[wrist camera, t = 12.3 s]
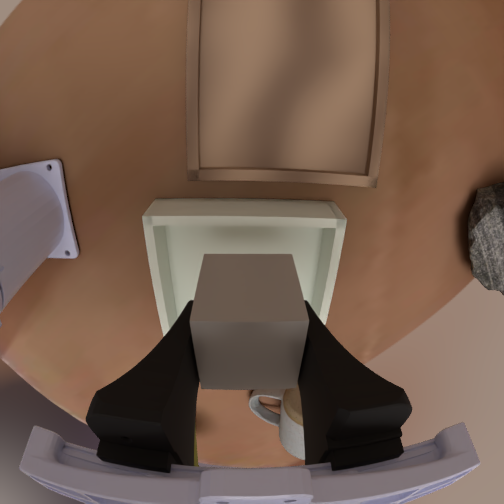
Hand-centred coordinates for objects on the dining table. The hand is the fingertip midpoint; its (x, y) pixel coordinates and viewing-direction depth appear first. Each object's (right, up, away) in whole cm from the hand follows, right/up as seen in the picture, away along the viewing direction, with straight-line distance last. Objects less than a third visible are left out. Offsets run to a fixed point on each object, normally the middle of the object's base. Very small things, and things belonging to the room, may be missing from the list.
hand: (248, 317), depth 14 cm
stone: (0, +1, +1) cm, 2 cm away
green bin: (0, 0, +9) cm, 9 cm away
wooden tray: (+2, +14, +2) cm, 14 cm away
